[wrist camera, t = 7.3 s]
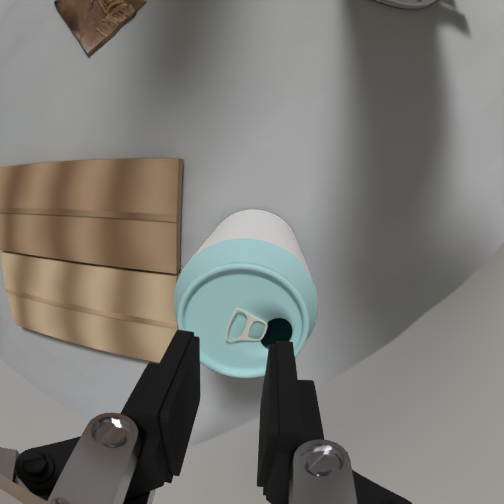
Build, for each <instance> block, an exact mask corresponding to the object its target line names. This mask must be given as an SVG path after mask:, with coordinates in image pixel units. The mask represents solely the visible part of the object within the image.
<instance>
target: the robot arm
mask: <svg viewBox="0 0 504 504" xmlns="http://www.w3.org/2000/svg"><path fill="white" fill-rule="evenodd" d="M376 1H379V2H382V3H384V4H387V5H391V6H395V7H399V8H407V9H419V8H423V7H427V6H429V5H430V4H432V3H433V2H434V1H435V0H376ZM199 402H200V338H199V337H197V336H194V332H191V331H184V330H177V331H176V332H175V334H174V336H173V338H172V340H171V342H170V344H169V346H168V348H167V350H166V351H165V353H164V355H163V357H162V359H161V361H160V363H159V364H156V363H149V364H148V365H147V367H146V368H145V370H144V372H143V374H142V376H141V377H140V379H139V381H138V383H137V384H136V386H135V388H134V390H133V392H132V393H131V395H130V397H129V399H128V401H127V403H126V404H125V406H124V408H123V410H122V412H121V414H119V413H104V414H101V415H98V416H96V417H95V418H93V419H92V420H91V421H90V422H89V424H88V425H87V427H86V428H85V430H84V432H83V434H82V436H81V437H77V438H73V439H69V440H66V441H62V442H58V443H54V444H49V445H45V446H40V447H36V448H31V449H28V450H25V451H24V452H23V453H21V454H19V453H18V451H17V450H13V449H7V448H1V447H0V504H152V502H153V498H154V494H155V489H156V488H159V487H161V486H163V485H164V482H168V483H171V482H172V478H173V475H175V476H179V475H180V472H181V468H182V464H183V461H184V457H185V453H186V449H187V446H188V442H189V439H190V435H191V431H192V428H193V424H194V420H195V417H196V413H197V410H198V406H199ZM257 486H258V487H263V495H266V500H267V501H269V502H270V503H271V504H412V503H411V502H410V501H408V500H406V499H405V498H403V497H401V496H399V495H397V494H395V493H393V492H391V491H389V490H387V489H385V488H383V487H381V486H379V485H378V484H376V483H374V482H372V481H370V480H369V479H367V478H365V477H363V476H361V475H360V474H358V473H356V472H355V471H353V470H352V468H351V462H350V458H349V455H348V453H347V452H346V450H345V449H344V448H343V447H342V446H340V445H339V444H337V443H335V442H331V441H329V440H324V435H323V429H322V424H321V418H320V412H319V407H318V401H317V396H316V390H315V385H314V382H313V381H312V380H297V371H296V363H295V355H294V347H293V342H289V341H276V343H275V345H272V344H269V350H268V357H267V364H266V371H265V378H264V385H263V392H262V399H261V408H260V430H259V452H258V473H257Z"/></svg>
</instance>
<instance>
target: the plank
mask: <svg viewBox="0 0 504 504" xmlns="http://www.w3.org/2000/svg"><path fill="white" fill-rule="evenodd" d="M182 175H183V159H160V158H135V159H96V160H76V161H61V162H48V163H37V164H27V165H18V166H10V167H2V168H0V250H3V251H9V252H15V253H22V254H28V255H35V256H42V257H48V258H55V259H62V260H69V261H77V262H84V263H91V264H99V265H107V266H114V267H122V268H131V269H139V270H147V271H156V272H165V273H174V274H177V272H178V271H179V270H180V239H181V198H182Z"/></svg>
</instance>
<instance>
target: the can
mask: <svg viewBox="0 0 504 504" xmlns="http://www.w3.org/2000/svg"><path fill="white" fill-rule="evenodd" d="M174 311H175V316H176V320H177V324H178V329H179V330H184V331H191V332H194V336H197V337H199V338H200V363H201V364H203V365H204V366H206V367H207V368H209V369H211V370H213V371H215V372H217V373H220V374H223V375H226V376H230V377H236V378H256V377H261V376H265V371H266V364H267V357H268V350H269V344H272V345H275V343H276V341H289V342H293V347H294V355H295V358H296V356H297V355H298V354H299V353H300V351H301V350H302V348H303V346H304V344H305V342H306V341H307V339H308V338H309V336H310V334H311V333H312V331H313V328H314V326H315V322H316V319H317V314H318V297H317V292H316V288H315V285H314V282H313V280H312V277H311V275H310V272H309V269H308V267H307V264H306V262H305V259H304V257H303V254H302V252H301V249H300V247H299V244H298V242H297V239H296V237H295V235H294V233H293V231H292V230H291V228H290V227H289V226H288V225H287V224H286V223H285V222H284V221H283V220H282V219H281V218H279V217H278V216H276V215H274V214H272V213H269V212H266V211H262V210H244V211H240V212H237V213H235V214H232V215H231V216H229V217H227V218H226V219H225V220H223V221H222V222H221V223H220V224H219V225H218V227H217V228H216V229H215V230H214V231H213V233H212V234H211V235H210V236H209V237H208V239H207V240H206V241H205V242H204V244H203V245H202V246H201V247H200V248H199V250H198V251H197V252H196V253H195V255H194V256H193V257H192V258H191V259H190V261H189V262H188V263H187V264H186V266H185V267H184V269H183V270H182V272H181V274H180V276H179V278H178V280H177V283H176V287H175V292H174Z"/></svg>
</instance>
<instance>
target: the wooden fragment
mask: <svg viewBox="0 0 504 504" xmlns="http://www.w3.org/2000/svg"><path fill="white" fill-rule="evenodd" d="M145 2H146V0H57V1H55V2H54V4H55V5H56V7H57V9H58V10H59V11H60V13H61V15H62V16H63V17H64V19H65V20H66V22H67V23H68V25H69V26H70V28H71V30H72V31H73V33H74V34H75V36H76V37H77V38H78V40H79V41H80V43H81V45H82V46H83V47H84V49H85V51H86V52H87V54H88V55H89V56H90V55H91V54H92V53H93V52H95V51H96V50H97V49H98V48H99V47H100V46H102V45H103V44H104V43H105V42H107V41H108V40H110V39H111V38H112V37H114V36H115V35H116V33H117V32H118V31H119V29H120V27H121V26H122V25H123V24H124V23H126V22H127V21H128V20H129V19H131V18H133V17H134V15H135V13H136V11H137V10H138V9H139V8H140V7H141V6H142V5H143V4H144V3H145Z"/></svg>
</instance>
